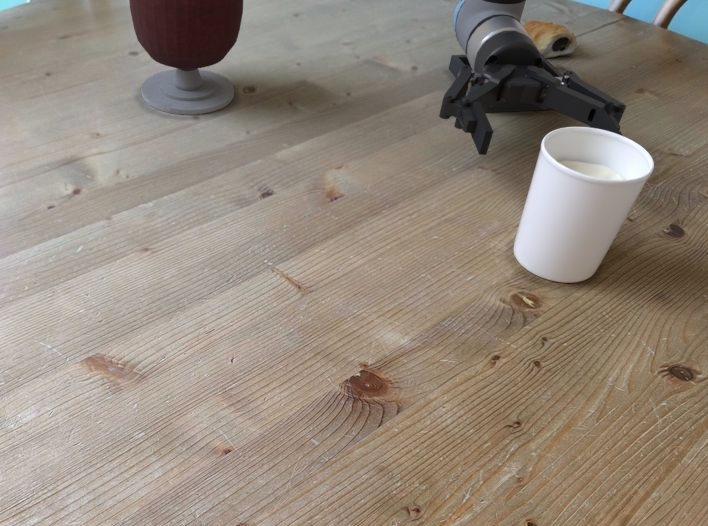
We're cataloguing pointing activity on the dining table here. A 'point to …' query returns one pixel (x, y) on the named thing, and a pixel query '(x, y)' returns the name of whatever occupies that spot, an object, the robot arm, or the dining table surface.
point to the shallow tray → (503, 106)
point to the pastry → (551, 38)
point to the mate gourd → (187, 51)
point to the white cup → (578, 201)
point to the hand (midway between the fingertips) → (551, 146)
